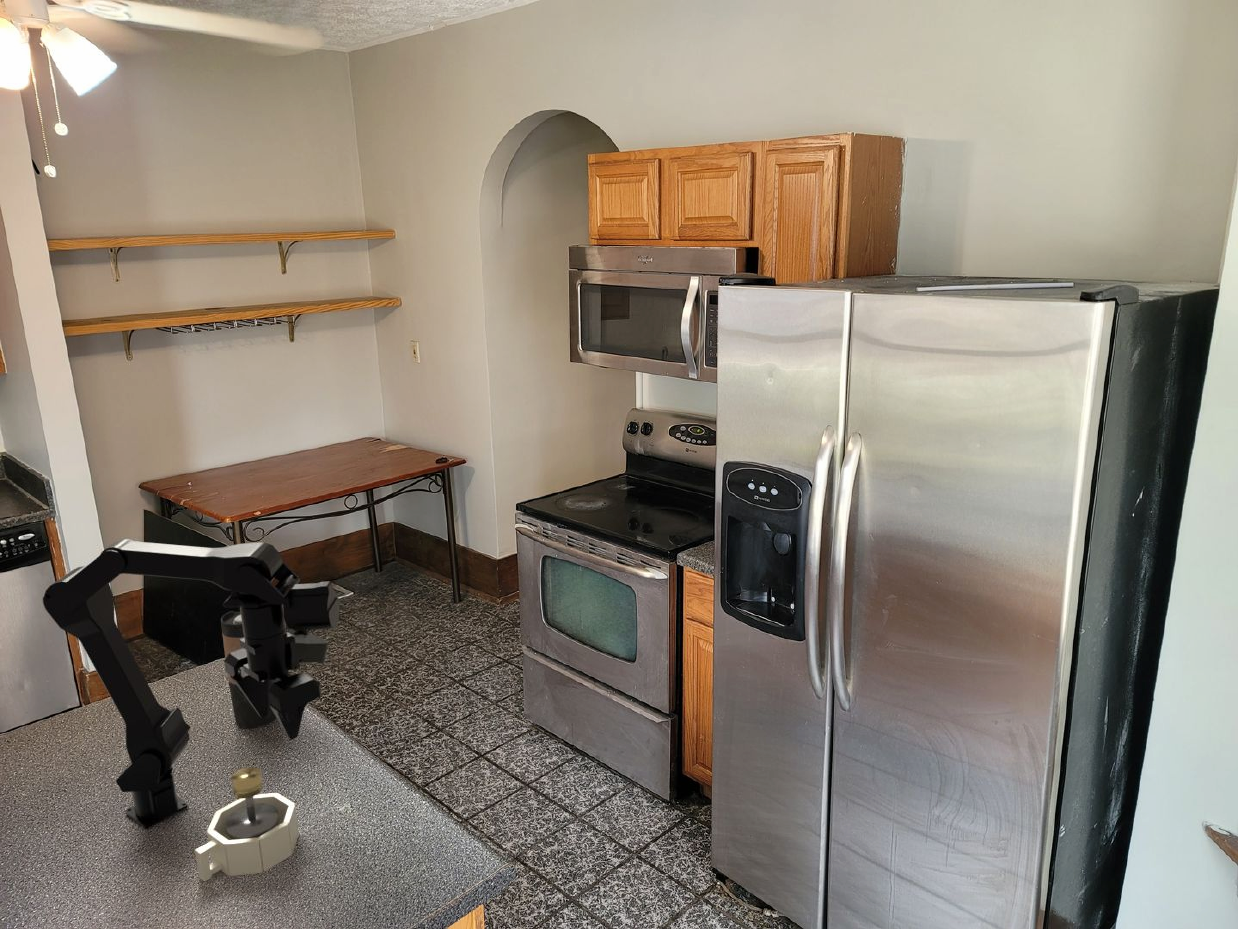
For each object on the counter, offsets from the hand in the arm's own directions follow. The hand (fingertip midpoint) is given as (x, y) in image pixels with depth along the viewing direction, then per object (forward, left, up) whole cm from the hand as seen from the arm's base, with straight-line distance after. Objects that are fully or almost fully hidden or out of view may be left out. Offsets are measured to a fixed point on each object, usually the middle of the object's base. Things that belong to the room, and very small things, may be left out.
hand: (278, 727), depth 132 cm
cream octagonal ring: (+5, -10, -13) cm, 17 cm away
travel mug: (-27, +11, -13) cm, 32 cm away
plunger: (+5, -9, -9) cm, 14 cm away
